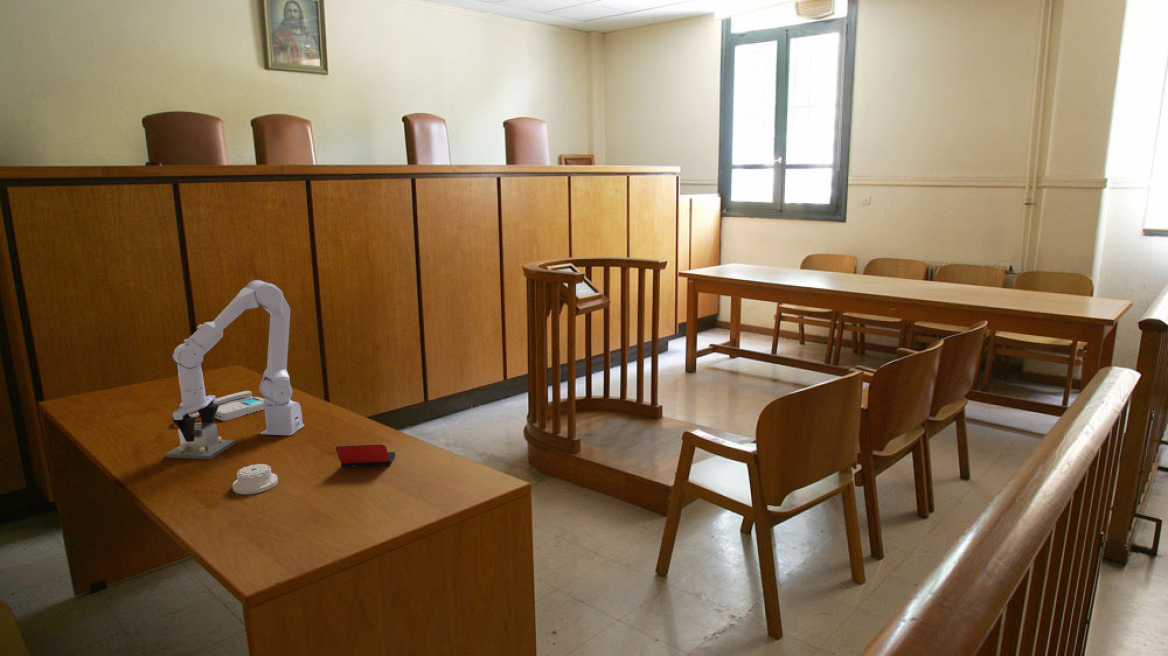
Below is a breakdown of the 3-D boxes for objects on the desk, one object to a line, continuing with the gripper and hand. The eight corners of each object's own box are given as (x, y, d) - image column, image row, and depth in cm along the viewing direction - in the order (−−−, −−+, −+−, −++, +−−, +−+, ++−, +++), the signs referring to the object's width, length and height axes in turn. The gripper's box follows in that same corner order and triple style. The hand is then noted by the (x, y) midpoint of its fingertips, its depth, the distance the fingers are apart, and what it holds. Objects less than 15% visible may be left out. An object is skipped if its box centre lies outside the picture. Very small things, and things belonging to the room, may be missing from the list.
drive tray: (235, 443, 201) (234, 435, 200) (210, 459, 190) (209, 450, 190) (193, 441, 203) (192, 433, 202) (165, 457, 192) (164, 448, 192)
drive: (218, 444, 198) (216, 423, 197) (208, 450, 193) (205, 429, 192) (192, 443, 199) (189, 422, 198) (181, 449, 195) (177, 428, 193)
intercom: (169, 409, 218) (248, 388, 238) (171, 423, 219) (250, 400, 239) (190, 418, 210) (270, 395, 230) (192, 432, 211) (272, 408, 231)
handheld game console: (396, 455, 191) (394, 429, 190) (387, 472, 181) (385, 444, 179) (349, 457, 191) (346, 430, 189) (337, 474, 180) (334, 446, 179)
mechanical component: (223, 493, 170) (261, 497, 168) (221, 476, 169) (259, 479, 167) (250, 476, 180) (286, 479, 178) (248, 459, 179) (284, 462, 177)
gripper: (196, 379, 200) (203, 425, 203) (159, 396, 186) (167, 445, 189) (220, 380, 199) (226, 426, 202) (184, 397, 185) (191, 446, 188)
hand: (199, 435), depth 196 cm, fingers open, 7 cm apart
